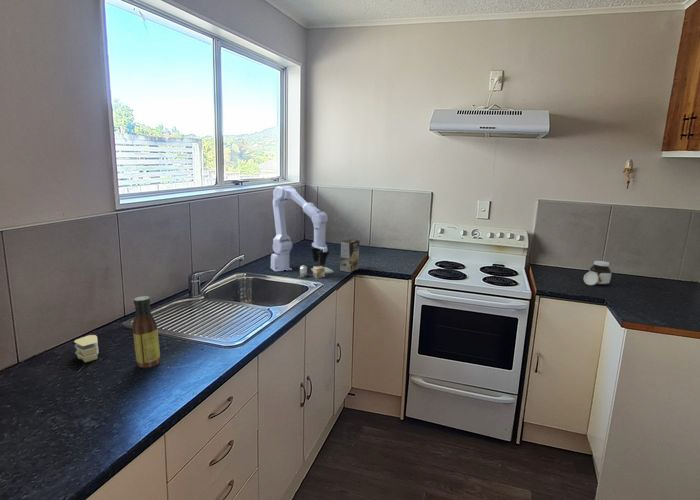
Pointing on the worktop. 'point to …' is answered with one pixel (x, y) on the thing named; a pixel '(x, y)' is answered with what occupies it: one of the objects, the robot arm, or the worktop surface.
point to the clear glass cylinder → (303, 271)
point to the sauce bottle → (145, 334)
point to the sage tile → (326, 270)
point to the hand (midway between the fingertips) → (319, 263)
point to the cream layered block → (87, 348)
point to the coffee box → (349, 255)
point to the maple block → (318, 272)
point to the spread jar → (598, 274)
